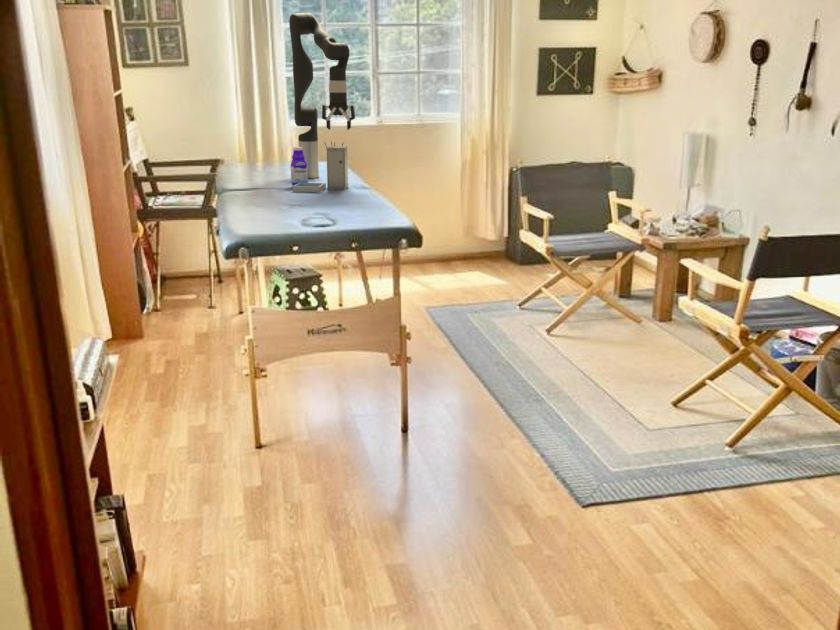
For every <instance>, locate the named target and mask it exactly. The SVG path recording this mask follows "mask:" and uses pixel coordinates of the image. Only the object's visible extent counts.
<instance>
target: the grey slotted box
mask: <svg viewBox="0 0 840 630" xmlns="http://www.w3.org/2000/svg"><path fill="white" fill-rule="evenodd" d="M348 167H349V166H348V146H336V145H335V146H334V145H330V146H327V148H326V172H327V173H326V176H327V178H326V179H327V181H326V187H327V190H343V189H346V188H347V187H348V188H349V177H348V176H349V174H348V172H349V169H348ZM348 188H347V189H348ZM347 189H346V190H347Z"/></svg>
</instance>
